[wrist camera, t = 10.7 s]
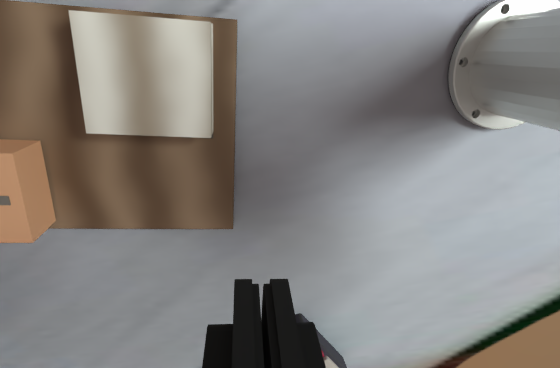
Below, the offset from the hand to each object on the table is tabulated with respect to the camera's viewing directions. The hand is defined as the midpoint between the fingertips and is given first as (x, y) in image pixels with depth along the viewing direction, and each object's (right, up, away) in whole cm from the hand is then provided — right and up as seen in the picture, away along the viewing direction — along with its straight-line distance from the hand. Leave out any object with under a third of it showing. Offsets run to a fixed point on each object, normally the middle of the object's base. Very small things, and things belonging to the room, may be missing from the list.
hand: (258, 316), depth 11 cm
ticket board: (-17, +10, +21) cm, 28 cm away
